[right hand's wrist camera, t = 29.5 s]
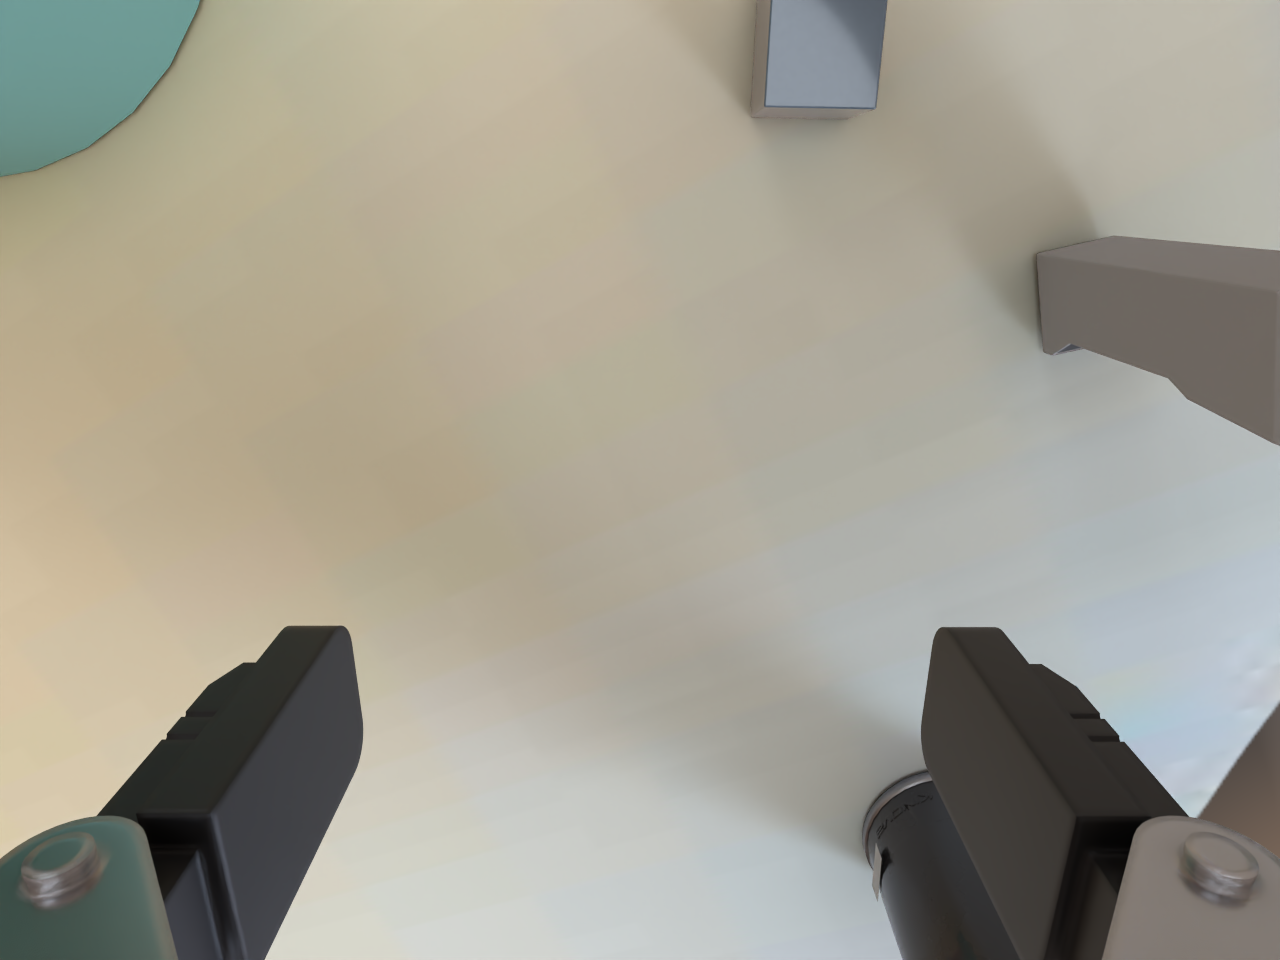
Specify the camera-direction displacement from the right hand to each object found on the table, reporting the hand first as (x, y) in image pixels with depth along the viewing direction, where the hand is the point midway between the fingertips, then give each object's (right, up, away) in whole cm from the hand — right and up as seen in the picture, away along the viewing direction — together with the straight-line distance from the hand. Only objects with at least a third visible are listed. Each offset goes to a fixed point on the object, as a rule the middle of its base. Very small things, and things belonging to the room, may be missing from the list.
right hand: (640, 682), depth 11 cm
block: (+8, +22, +26) cm, 35 cm away
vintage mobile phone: (+22, +12, +30) cm, 39 cm away
